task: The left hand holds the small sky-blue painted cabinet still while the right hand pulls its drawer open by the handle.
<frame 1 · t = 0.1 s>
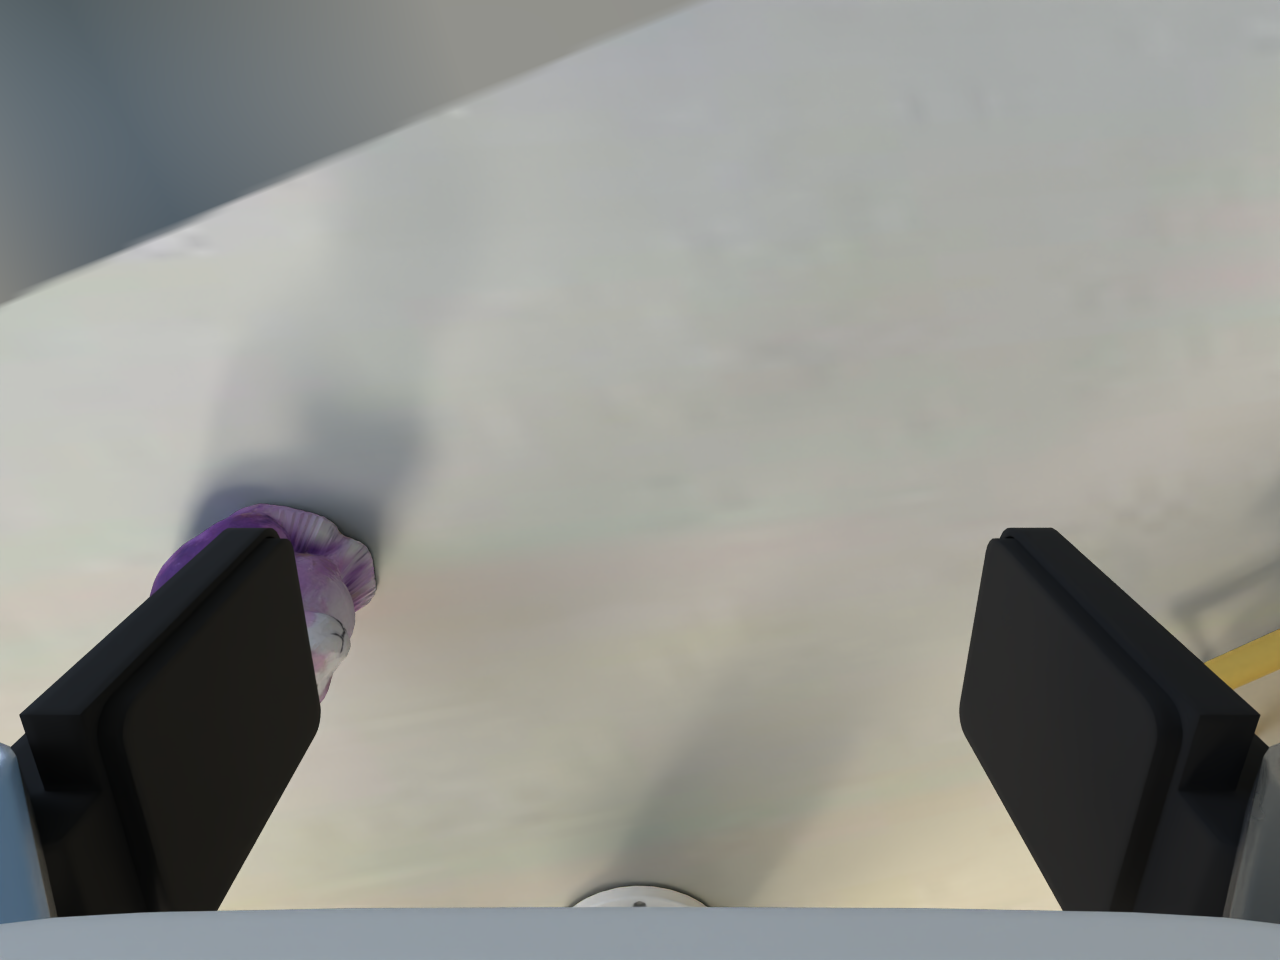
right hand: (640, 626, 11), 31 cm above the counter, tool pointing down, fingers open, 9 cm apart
figurine: (296, 560, 46), on the counter
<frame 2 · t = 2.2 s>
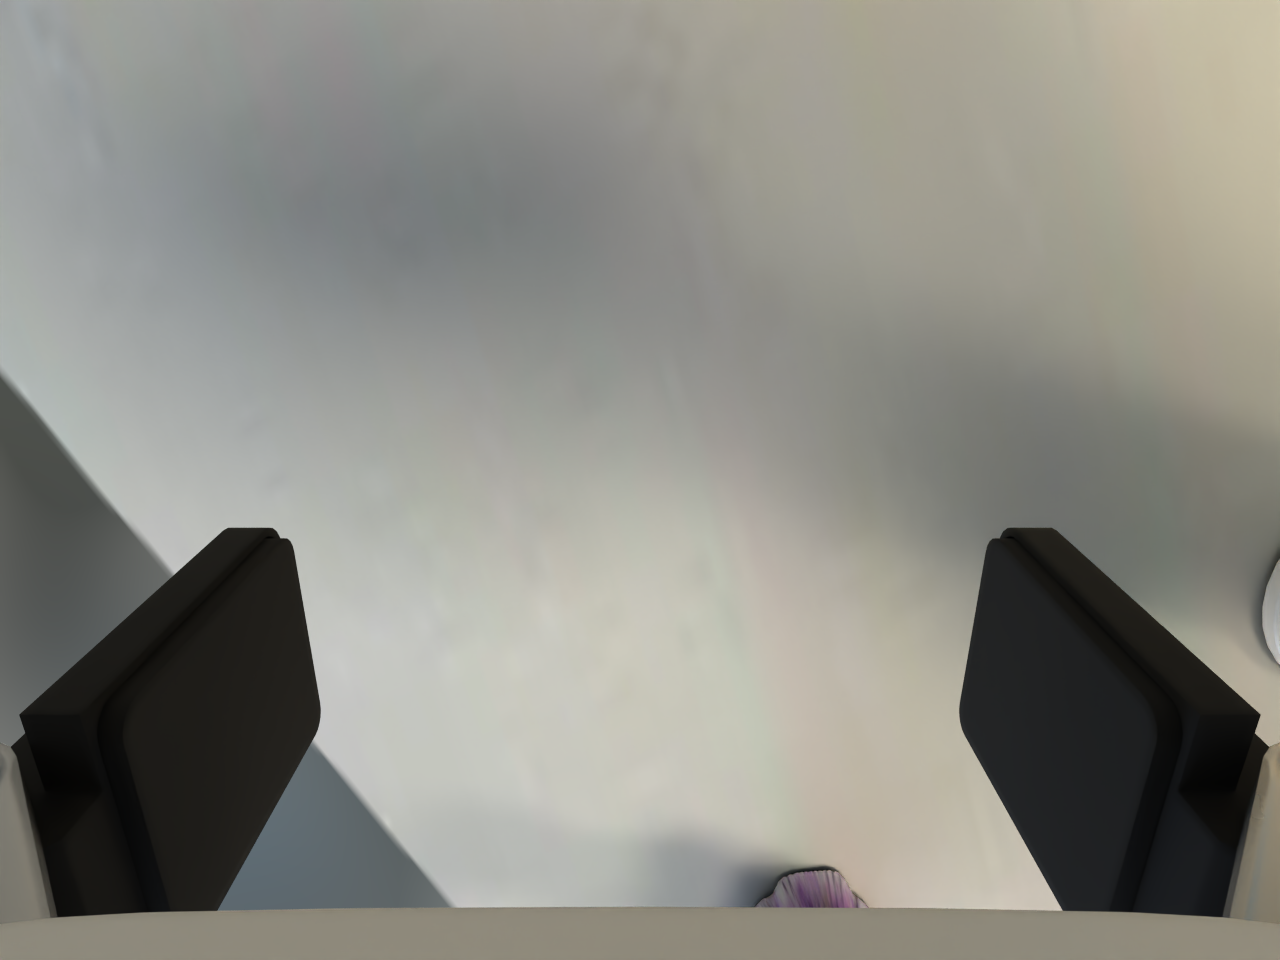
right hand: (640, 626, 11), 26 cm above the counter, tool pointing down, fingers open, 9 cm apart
figurine: (803, 923, 49), on the counter
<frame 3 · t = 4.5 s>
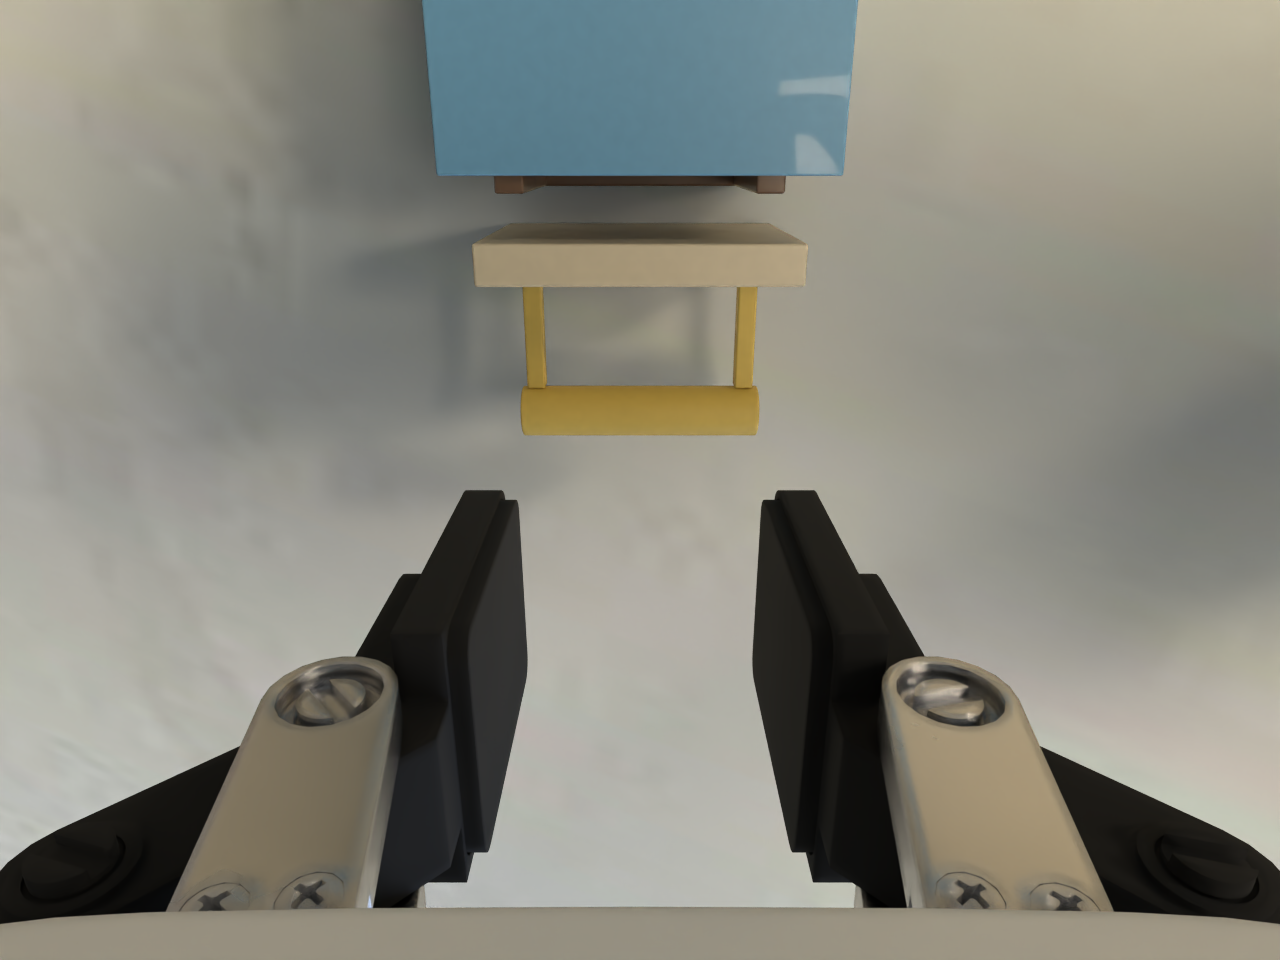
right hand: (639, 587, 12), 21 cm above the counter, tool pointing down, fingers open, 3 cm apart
drawer: (639, 67, 25), point 5 cm above the counter, slide at 1.8 cm
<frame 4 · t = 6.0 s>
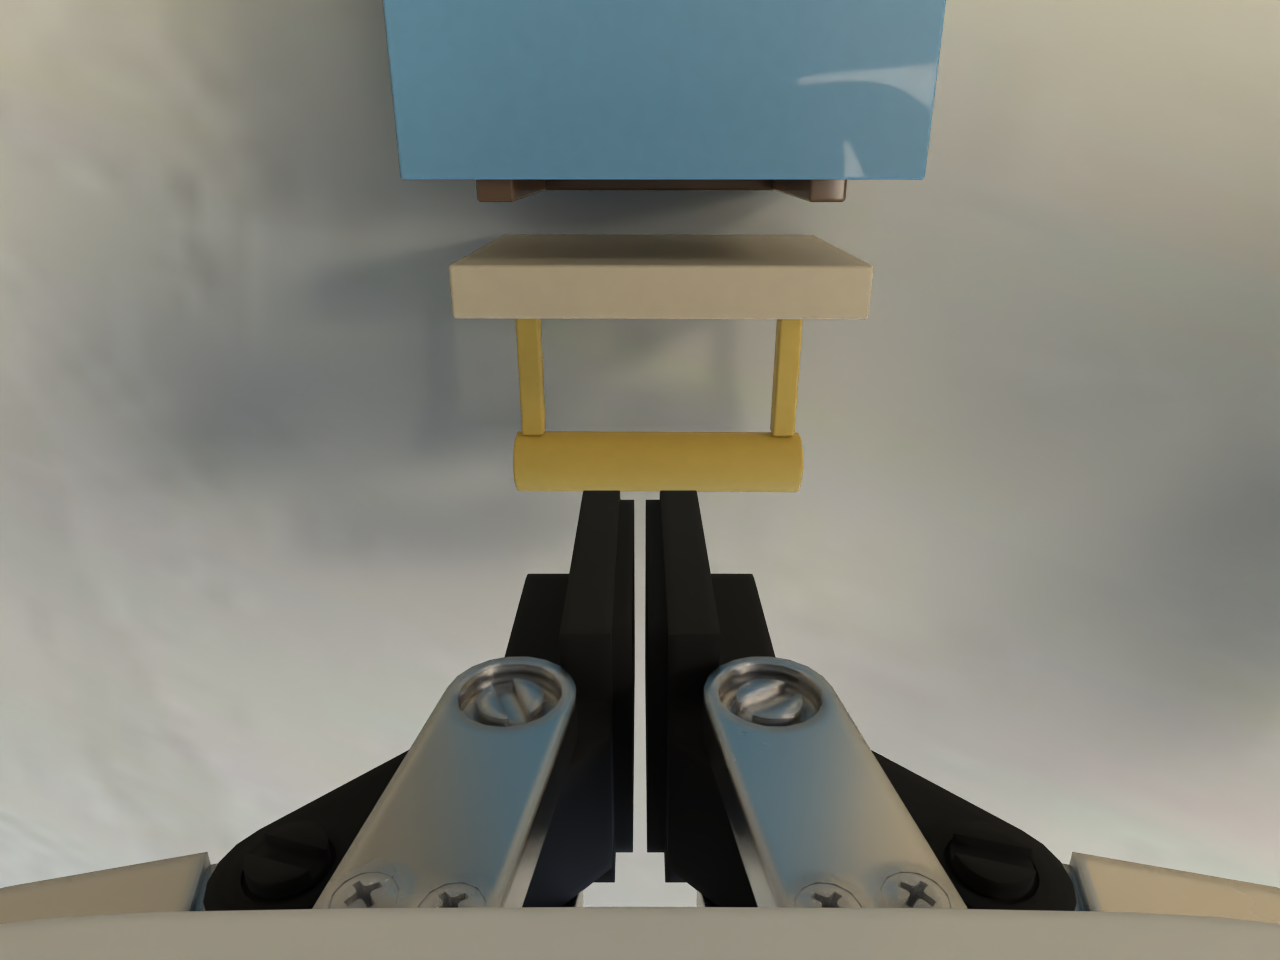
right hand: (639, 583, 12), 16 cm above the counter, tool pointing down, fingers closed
drawer: (660, 43, 20), point 5 cm above the counter, slide at 1.8 cm
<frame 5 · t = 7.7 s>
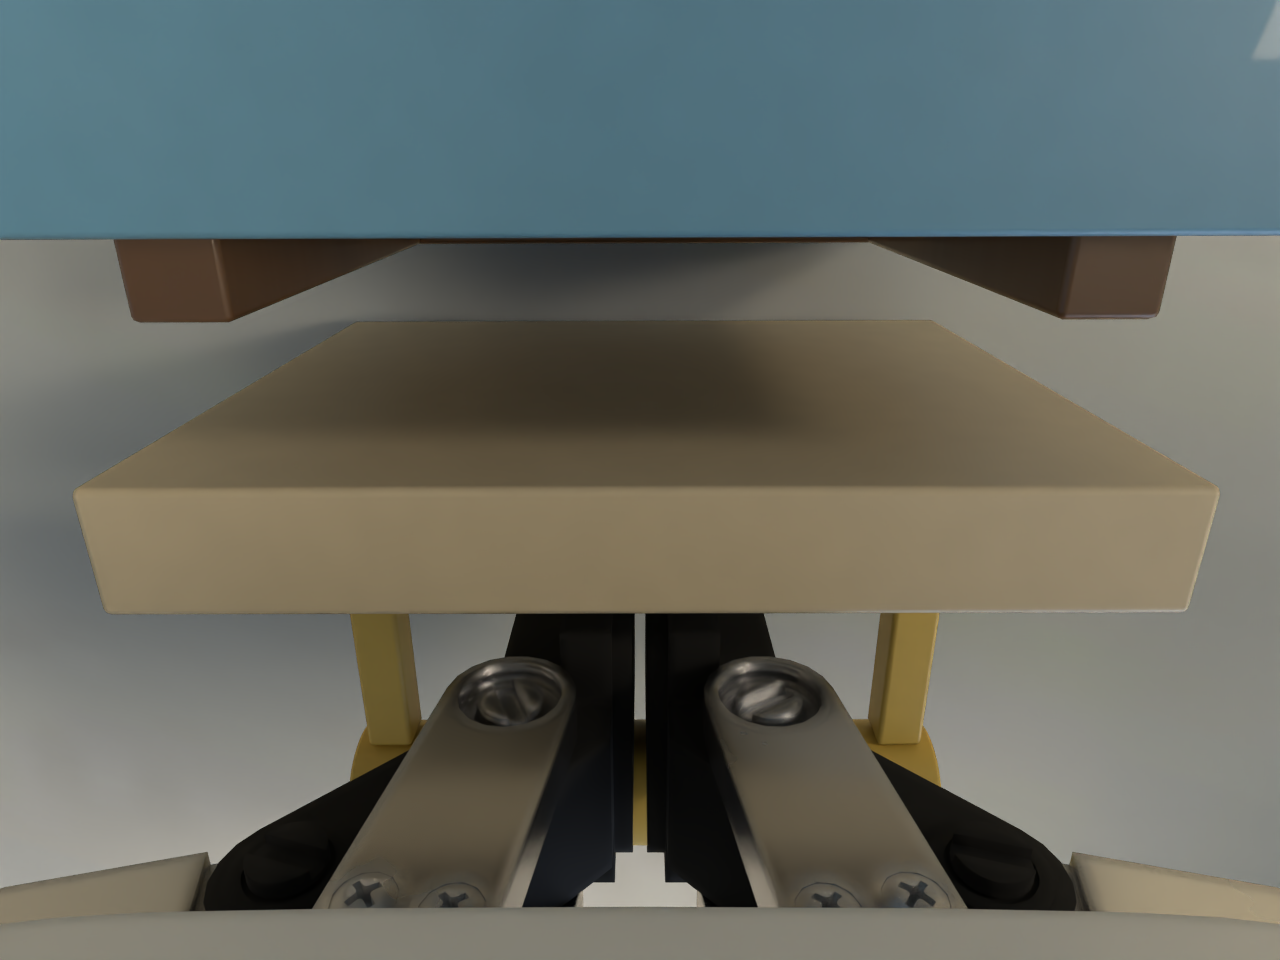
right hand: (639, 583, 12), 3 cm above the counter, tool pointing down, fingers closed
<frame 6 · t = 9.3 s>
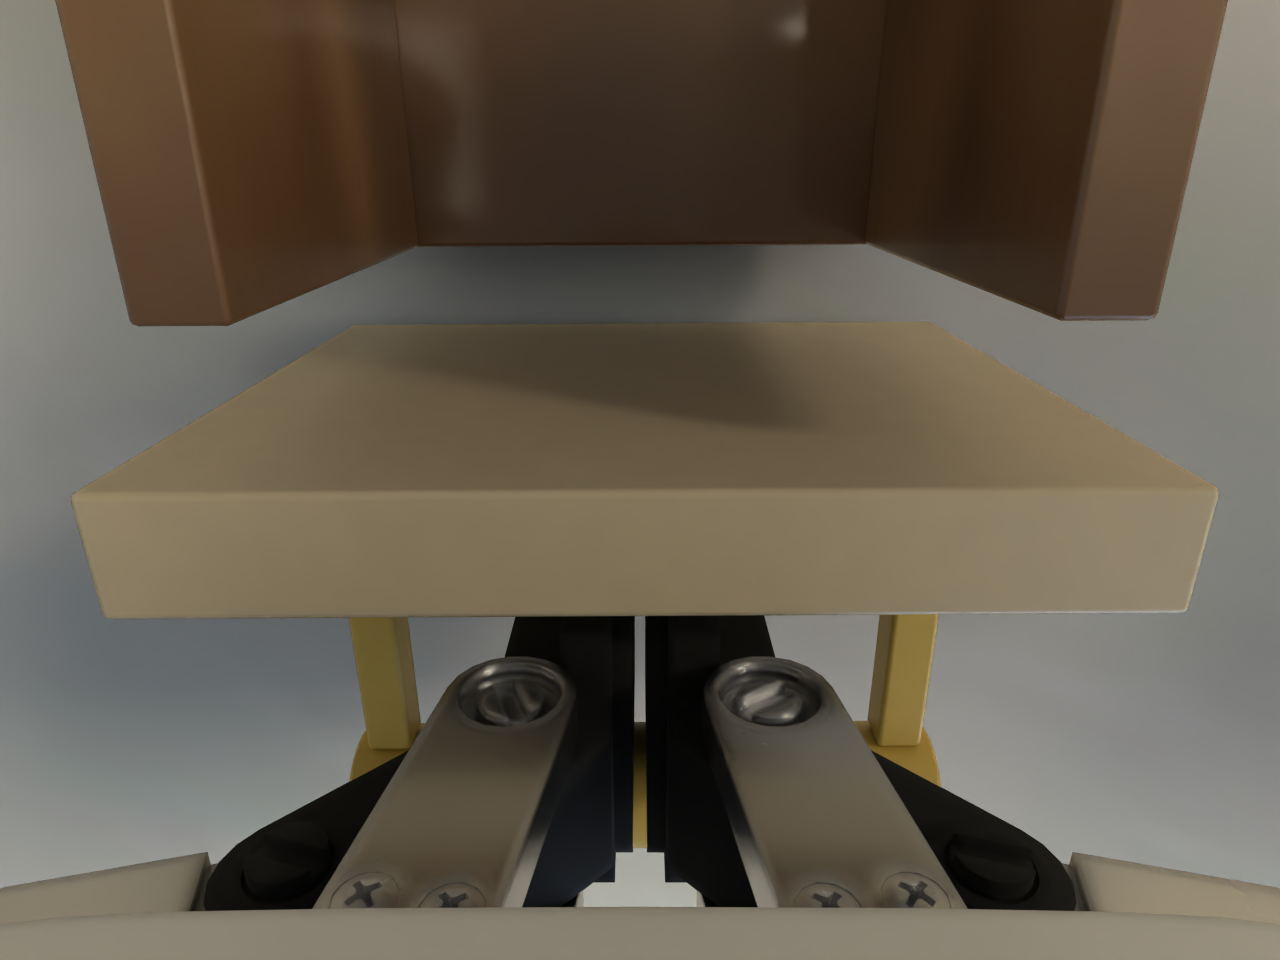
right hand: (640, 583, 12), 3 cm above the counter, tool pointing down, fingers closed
when the left hand's fingers open (4 cm above the counter, at t = 11.1 s): cabinet stays where it is, on the counter.
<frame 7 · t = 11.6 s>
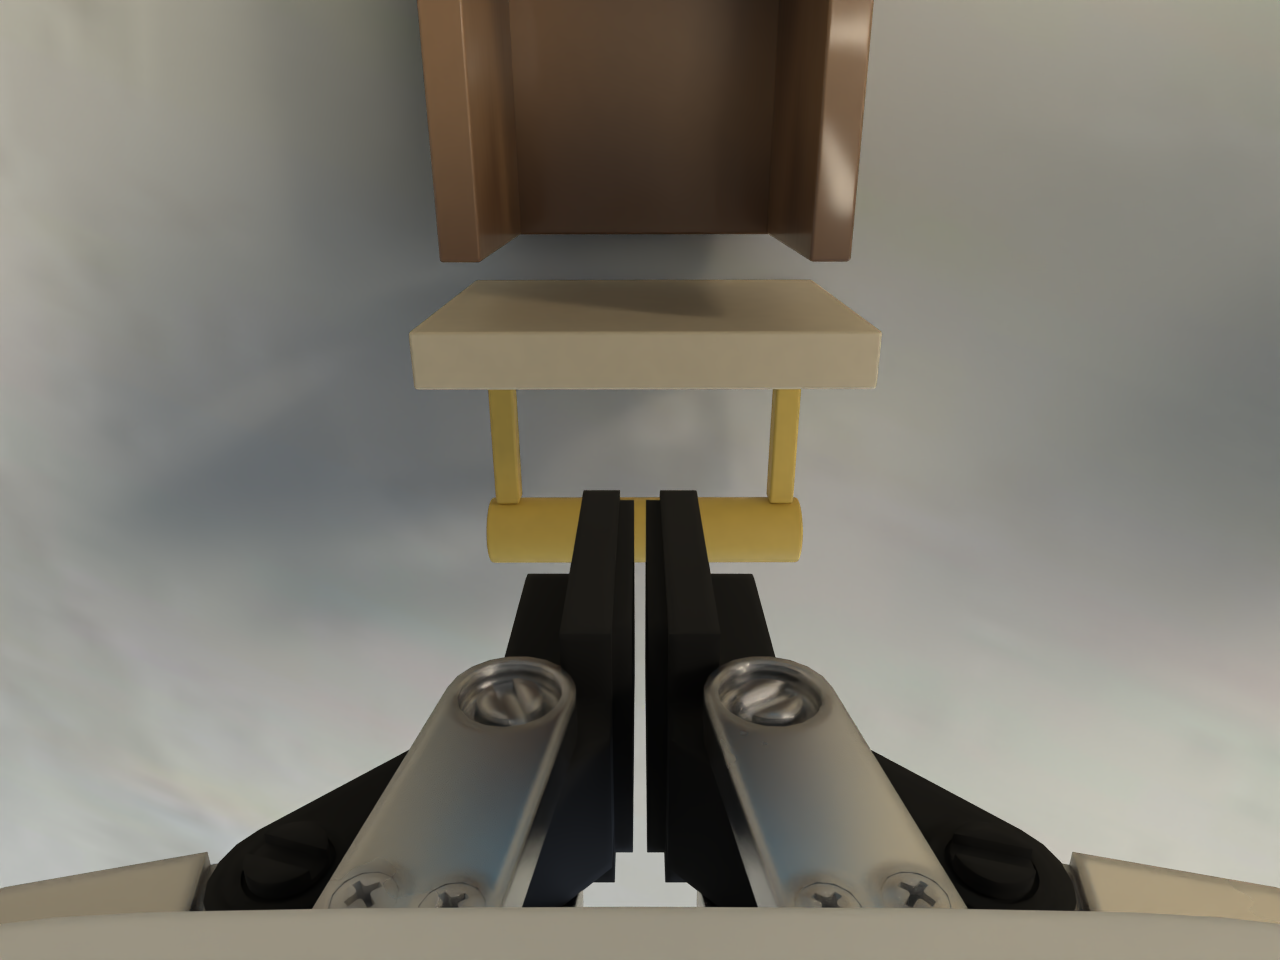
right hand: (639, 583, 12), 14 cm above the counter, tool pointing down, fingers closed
drawer: (644, 81, 18), point 4 cm above the counter, slide at 10.0 cm
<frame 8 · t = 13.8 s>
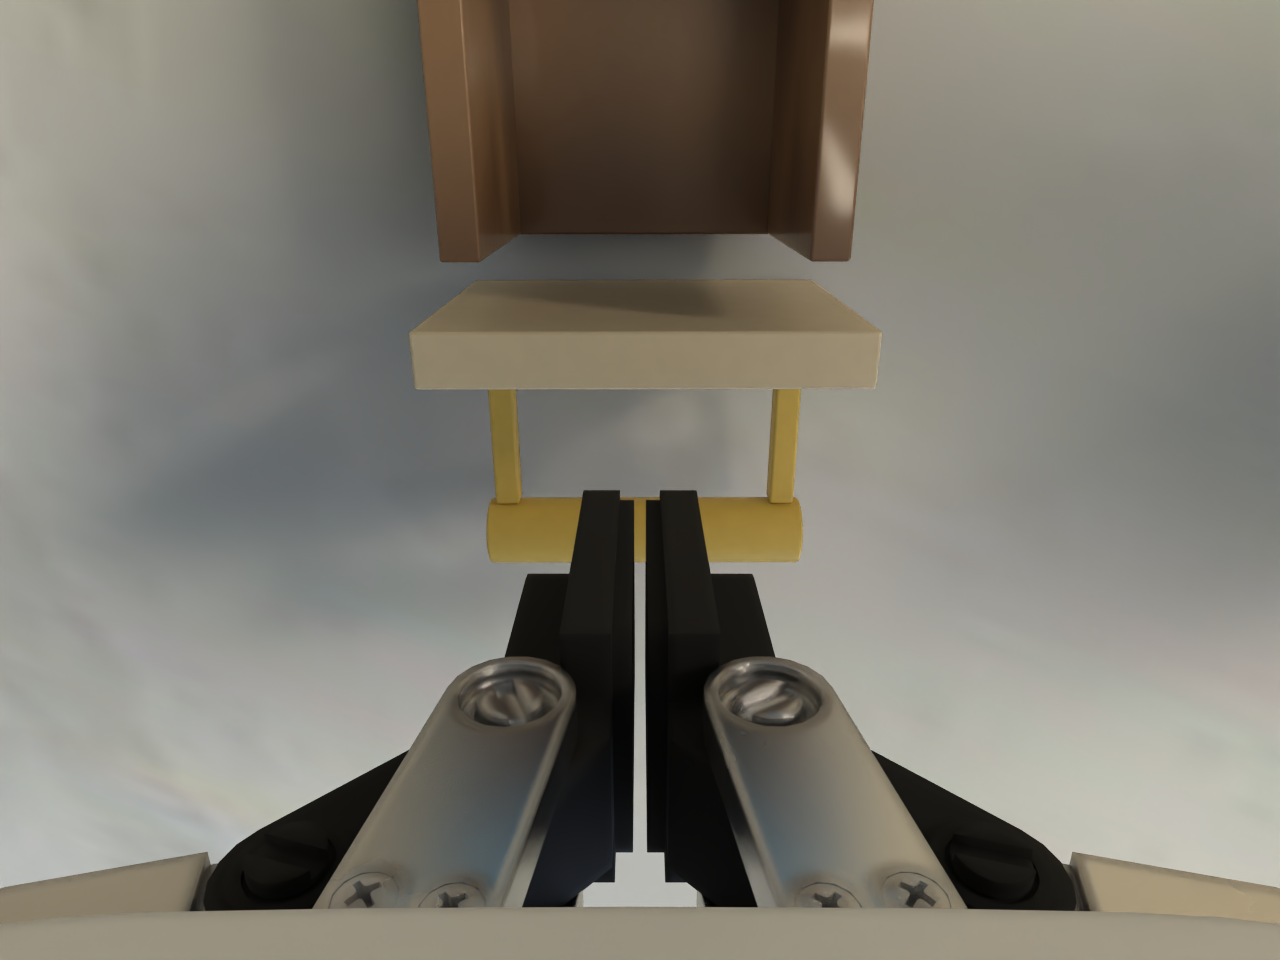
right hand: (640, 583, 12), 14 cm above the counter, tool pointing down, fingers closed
drawer: (644, 81, 18), point 4 cm above the counter, slide at 10.0 cm
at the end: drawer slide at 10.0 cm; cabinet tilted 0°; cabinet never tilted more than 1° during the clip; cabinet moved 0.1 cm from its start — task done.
